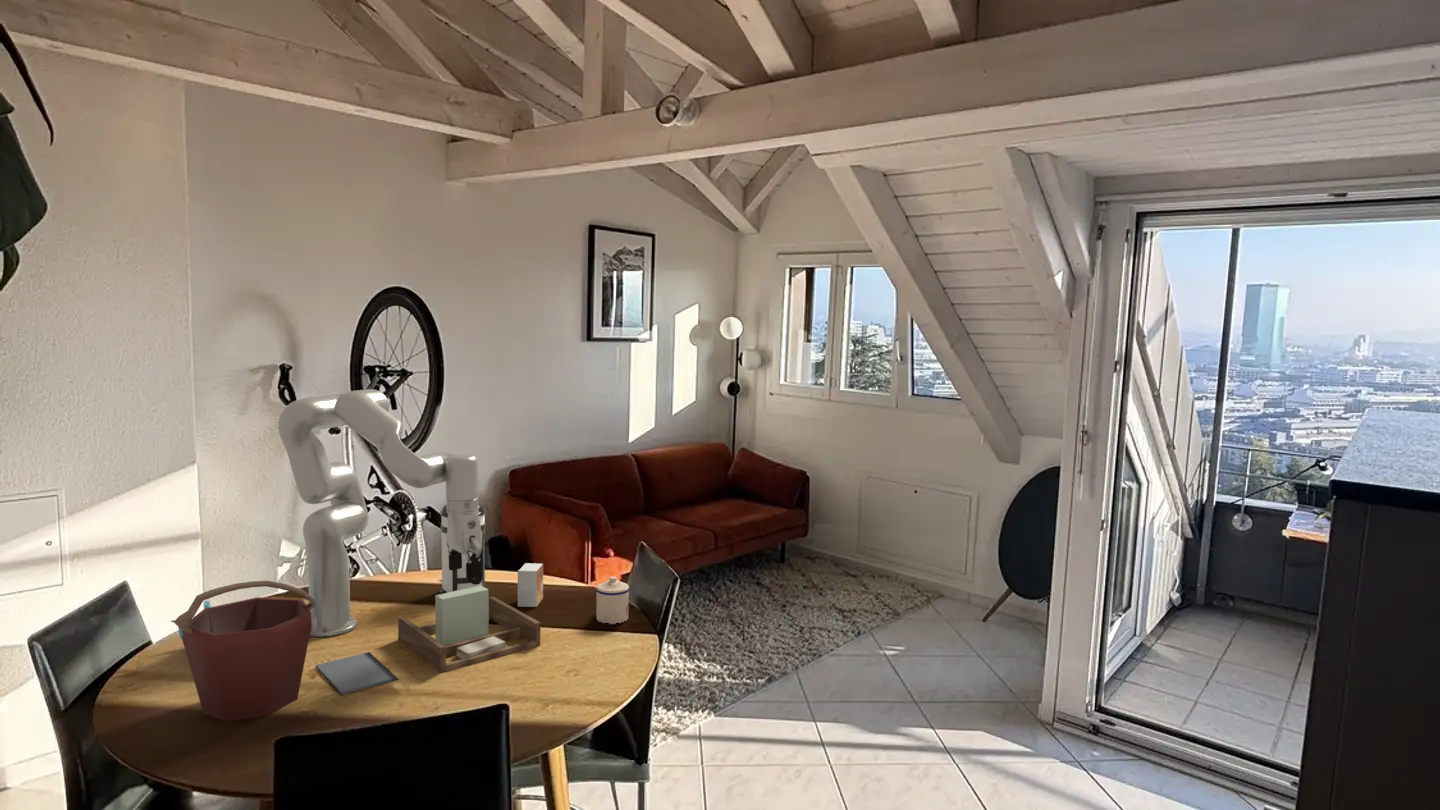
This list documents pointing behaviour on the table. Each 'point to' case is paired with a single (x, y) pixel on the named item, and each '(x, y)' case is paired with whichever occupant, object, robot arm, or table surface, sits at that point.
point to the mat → (356, 673)
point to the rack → (437, 652)
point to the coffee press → (457, 578)
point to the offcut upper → (480, 647)
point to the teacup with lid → (612, 601)
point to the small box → (530, 585)
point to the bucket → (247, 651)
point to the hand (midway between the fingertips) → (464, 573)
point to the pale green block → (462, 615)
